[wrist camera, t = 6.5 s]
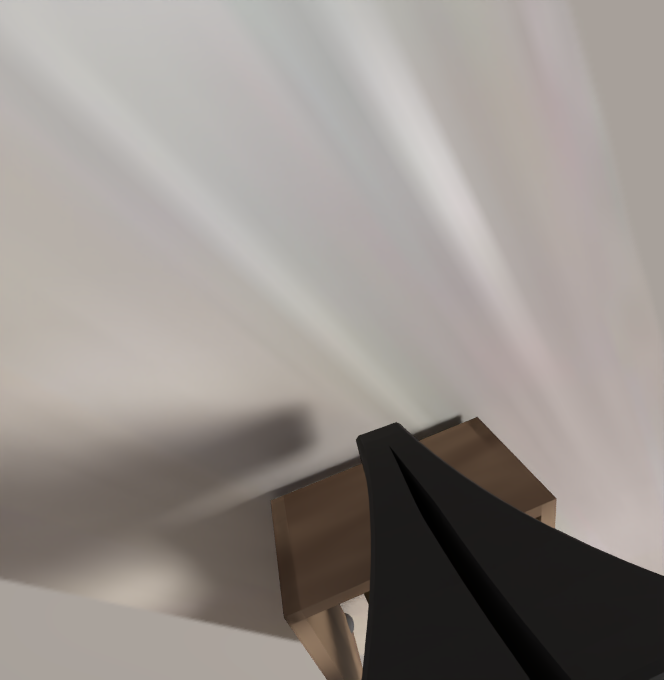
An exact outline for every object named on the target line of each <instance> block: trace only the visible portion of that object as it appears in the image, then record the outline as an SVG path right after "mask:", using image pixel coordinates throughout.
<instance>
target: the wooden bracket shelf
mask: <svg viewBox="0 0 664 680" xmlns="http://www.w3.org/2000/svg"><path fill="white" fill-rule="evenodd" d="M419 441H420V442H421V443H422V444H423V445H425V446H426V447H427V448H428V449H429V450H431V451H432V452H433V453H434V454H436V455H437V456H438V457H440V458H441V459H442V460H444V461H445V462H446V463H448V464H449V465H450V466H452V467H453V468H454V469H456V470H457V471H459V472H460V473H461V474H463V475H464V476H466V477H467V478H469V479H470V480H472V481H473V482H475V483H476V484H478V485H479V486H481V487H482V488H484V489H485V490H487V491H488V492H490V493H492V494H493V495H495V496H496V497H498V498H500V499H501V500H503V501H505V502H506V503H508V504H510V505H512V506H513V507H515V508H517V509H518V510H520V511H522V512H524V513H526V514H528V515H529V516H531V517H533V518H535V519H537V520H539V521H541V522H542V523H544V524H546V525H548V526H551V527H553V528H555V516H556V498H555V497H554V496H553V495H552V493H551V492H550V491H549V490H548V489H547V488H546V487H545V486H544V485H543V484H542V483H541V482H540V481H539V480H538V479H537V478H536V477H535V476H534V475H533V474H532V473H531V472H530V471H529V470H528V469H527V468H526V467H525V466H524V465H523V464H522V462H521V461H520V460H519V459H518V458H517V457H516V456H515V455H514V454H513V453H512V452H511V451H510V450H509V449H508V448H507V447H506V446H505V445H504V444H503V443H502V442H501V441H500V440H499V439H498V438H497V437H496V436H495V435H494V434H493V433H492V432H491V430H490V429H489V428H488V427H487V426H486V425H485V424H484V423H483V422H482V421H481V420H480V419H479V418H478V417H476V418H474V419H471V420H469V421H466V422H464V423H461V424H459V425H456V426H454V427H451V428H449V429H446V430H444V431H441V432H439V433H437V434H434V435H432V436H429V437H427V438H424V439H422V440H419ZM271 508H272V517H273V526H274V535H275V544H276V552H277V561H278V570H279V579H280V588H281V596H282V605H283V614H284V618H285V620H286V621H287V623H288V624H289V626H290V627H291V628H292V630H293V631H294V633H295V634H296V636H297V637H298V639H299V640H300V641H301V643H302V644H303V646H304V647H305V649H306V650H307V652H308V653H309V654H310V656H311V657H312V658H313V660H314V662H315V663H316V665H317V666H318V667H319V669H320V670H321V671H322V673H323V675H324V676H325V677H326V679H327V680H361V679H362V671H363V668H362V664H361V661H360V656H359V652H358V649H357V645H356V641H355V637H354V633H353V630H354V622H353V619H352V618H351V616H350V615H348V614H346V613H344V612H343V610H342V608H341V606H340V603H343V602H345V601H347V600H350V599H352V598H354V597H356V596H359V595H361V594H363V593H365V592H368V591H370V568H371V530H370V511H369V496H368V488H367V481H366V477H365V473H364V469H363V465H362V464H360V465H357V466H355V467H352V468H350V469H348V470H345V471H343V472H340V473H338V474H335V475H333V476H330V477H328V478H325V479H323V480H320V481H318V482H315V483H313V484H310V485H308V486H306V487H303V488H301V489H298V490H296V491H293V492H291V493H288V494H286V495H283V496H281V497H278V498H276V499H273V500H271Z"/></svg>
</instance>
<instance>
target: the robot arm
mask: <svg viewBox="0 0 664 680" xmlns="http://www.w3.org/2000/svg"><path fill="white" fill-rule="evenodd" d="M356 442H357V446H358V450H359V454H360V458H361V461H362V465H363V469H364V473H365V477H366V481H367V488H368V496H369V511H370V530H371V568H370V592H369V609H368V621H367V632H366V642H365V652H364V662H363V671H362V679H361V680H664V576H662V575H660V574H657V573H654V572H652V571H649V570H647V569H644V568H642V567H639V566H637V565H634V564H632V563H629V562H627V561H624V560H622V559H620V558H617V557H615V556H613V555H611V554H608V553H606V552H604V551H601V550H599V549H597V548H594V547H592V546H590V545H588V544H586V543H584V542H582V541H580V540H577V539H575V538H573V537H571V536H569V535H567V534H565V533H563V532H561V531H559V530H557V529H555V528H553V527H551V526H548V525H546V524H544V523H542V522H541V521H539V520H537V519H535V518H533V517H531V516H529V515H528V514H526V513H524V512H522V511H520V510H518V509H517V508H515V507H513V506H512V505H510V504H508V503H506V502H505V501H503V500H501V499H500V498H498V497H496V496H495V495H493V494H492V493H490V492H488V491H487V490H485V489H484V488H482V487H481V486H479V485H478V484H476V483H475V482H473V481H472V480H470V479H469V478H467V477H466V476H464V475H463V474H461V473H460V472H459V471H457V470H456V469H454V468H453V467H452V466H450V465H449V464H448V463H446V462H445V461H444V460H442V459H441V458H440V457H438V456H437V455H436V454H434V453H433V452H432V451H431V450H429V449H428V448H427V447H426V446H425V445H423V444H422V443H421V442H420V441H418V440H417V439H416V438H415V437H414V436H413V435H412V434H410V433H409V432H408V431H407V430H406V429H405V428H404V427H403V426H402V425H401V424H399V423H397V422H396V423H393V424H390V425H387V426H385V427H382V428H379V429H376V430H373V431H371V432H368V433H365V434H362V435H359V436H358V438H357V439H356Z"/></svg>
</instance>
